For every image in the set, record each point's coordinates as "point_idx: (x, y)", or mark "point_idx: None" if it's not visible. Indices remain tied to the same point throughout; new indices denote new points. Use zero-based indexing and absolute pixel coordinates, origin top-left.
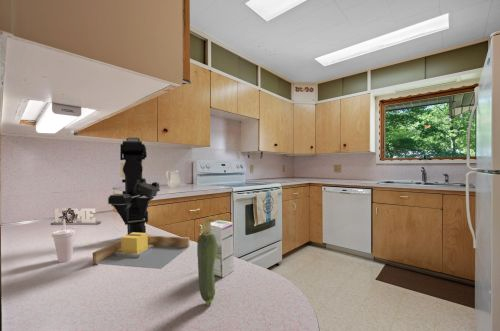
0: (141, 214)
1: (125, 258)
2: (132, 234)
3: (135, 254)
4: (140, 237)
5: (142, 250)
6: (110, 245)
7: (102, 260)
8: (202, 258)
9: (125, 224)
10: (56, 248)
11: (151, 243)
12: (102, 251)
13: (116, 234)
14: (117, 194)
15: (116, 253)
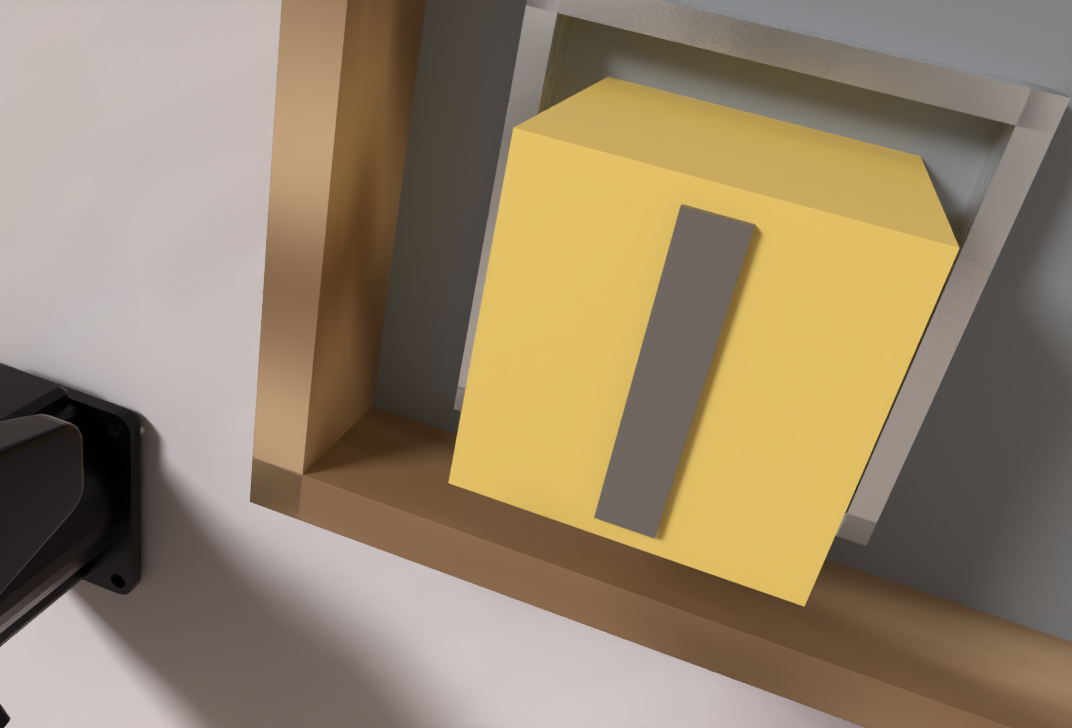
0: (28, 544)
1: (1023, 315)
2: (639, 439)
3: (1039, 159)
4: (799, 197)
5: (760, 123)
6: (809, 675)
7: (1017, 618)
8: None
9: (1, 718)
10: None
11: (399, 90)
12: (1027, 713)
13: (17, 713)
14: None
15: (881, 507)
